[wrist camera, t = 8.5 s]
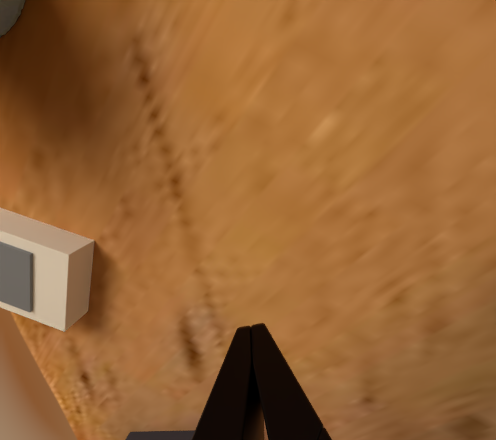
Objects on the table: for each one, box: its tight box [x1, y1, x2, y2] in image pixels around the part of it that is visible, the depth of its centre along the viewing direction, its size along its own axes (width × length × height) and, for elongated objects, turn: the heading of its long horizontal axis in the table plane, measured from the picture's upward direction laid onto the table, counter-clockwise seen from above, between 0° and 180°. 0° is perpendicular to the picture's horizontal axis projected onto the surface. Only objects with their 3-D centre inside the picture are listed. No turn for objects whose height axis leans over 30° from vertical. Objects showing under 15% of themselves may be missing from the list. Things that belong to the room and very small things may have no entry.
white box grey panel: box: [0, 208, 95, 332], centre depth 23 cm, size 3×7×9 cm
